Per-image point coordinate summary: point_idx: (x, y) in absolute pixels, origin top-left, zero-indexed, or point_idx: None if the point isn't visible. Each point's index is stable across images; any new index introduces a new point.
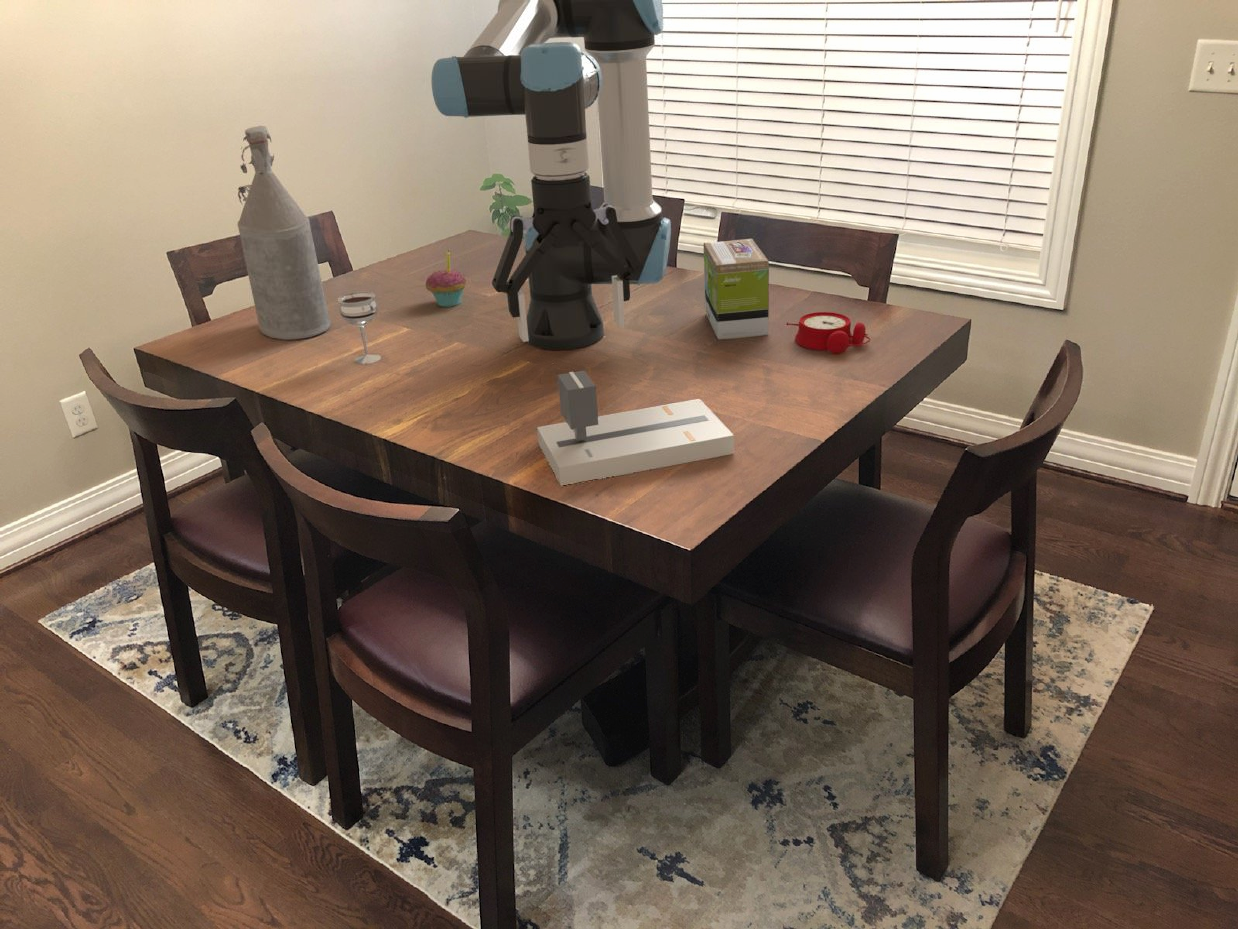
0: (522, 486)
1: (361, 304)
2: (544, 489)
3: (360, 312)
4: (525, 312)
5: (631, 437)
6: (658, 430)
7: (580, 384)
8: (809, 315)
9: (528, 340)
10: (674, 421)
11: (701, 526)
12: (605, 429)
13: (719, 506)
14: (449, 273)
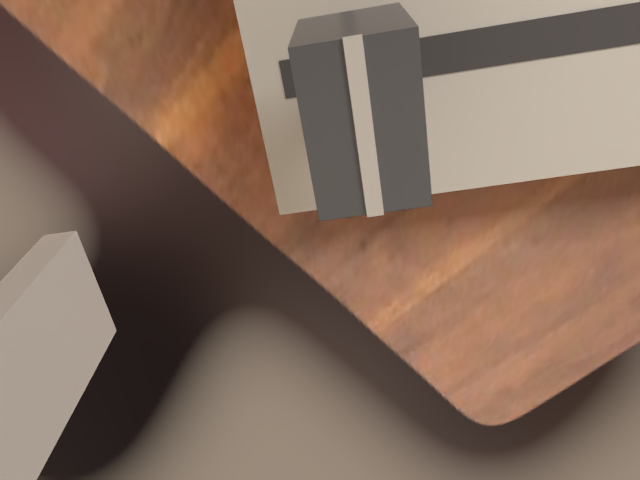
0: (190, 169)
1: None
2: (244, 195)
3: None
4: (38, 468)
5: (509, 86)
6: (605, 56)
7: (375, 185)
8: None
9: (114, 332)
10: None
11: (534, 387)
12: (445, 4)
13: (597, 337)
14: None
